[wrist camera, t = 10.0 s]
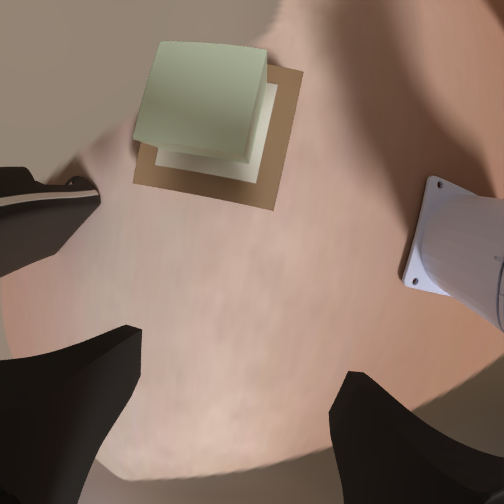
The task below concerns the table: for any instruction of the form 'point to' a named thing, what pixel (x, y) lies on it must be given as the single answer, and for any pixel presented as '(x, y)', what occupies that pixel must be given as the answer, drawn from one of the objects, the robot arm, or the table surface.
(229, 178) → the base block
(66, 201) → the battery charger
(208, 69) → the cube
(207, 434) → the table surface
